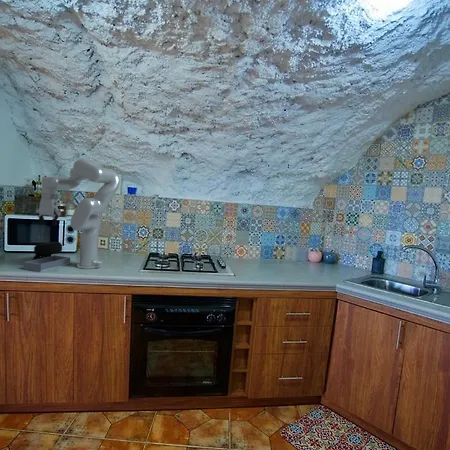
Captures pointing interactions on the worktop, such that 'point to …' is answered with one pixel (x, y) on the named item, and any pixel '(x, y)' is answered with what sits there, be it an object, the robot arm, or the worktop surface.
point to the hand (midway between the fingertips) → (47, 224)
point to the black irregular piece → (47, 249)
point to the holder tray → (46, 263)
